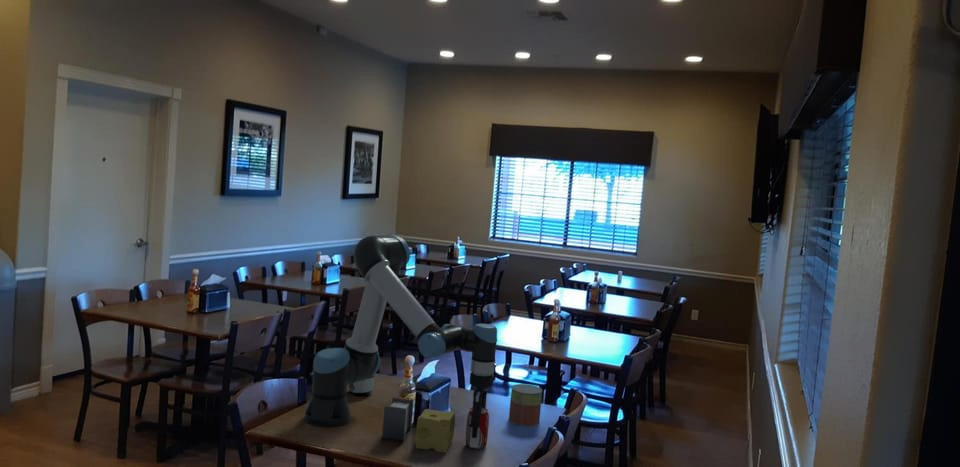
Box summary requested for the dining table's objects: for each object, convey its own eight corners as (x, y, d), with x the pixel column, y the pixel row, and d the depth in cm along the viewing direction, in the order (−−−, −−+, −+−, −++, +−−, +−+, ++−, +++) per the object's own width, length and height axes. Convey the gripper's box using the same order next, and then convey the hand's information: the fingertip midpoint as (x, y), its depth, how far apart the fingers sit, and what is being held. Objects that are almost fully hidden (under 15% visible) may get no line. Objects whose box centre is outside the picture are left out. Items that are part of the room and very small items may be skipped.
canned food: (532, 415, 257) (535, 383, 256) (544, 426, 246) (547, 393, 245) (504, 416, 253) (507, 384, 252) (514, 427, 242) (517, 393, 242)
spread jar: (376, 395, 265) (378, 365, 264) (351, 400, 257) (354, 369, 256) (357, 386, 273) (359, 358, 272) (333, 391, 265) (335, 361, 264)
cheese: (446, 453, 214) (449, 422, 213) (413, 448, 215) (415, 417, 215) (453, 441, 224) (456, 411, 223) (421, 437, 226) (424, 407, 225)
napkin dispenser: (403, 442, 219) (405, 409, 218) (381, 439, 220) (384, 406, 219) (411, 432, 229) (413, 399, 228) (390, 429, 230) (393, 397, 229)
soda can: (484, 451, 218) (487, 414, 217) (462, 448, 219) (465, 411, 218) (488, 443, 224) (491, 407, 224) (467, 440, 226) (470, 404, 225)
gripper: (489, 383, 209) (482, 455, 210) (498, 365, 230) (492, 431, 232) (464, 380, 210) (458, 452, 211) (475, 363, 231) (470, 428, 233)
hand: (476, 441), depth 222 cm, fingers open, 9 cm apart
